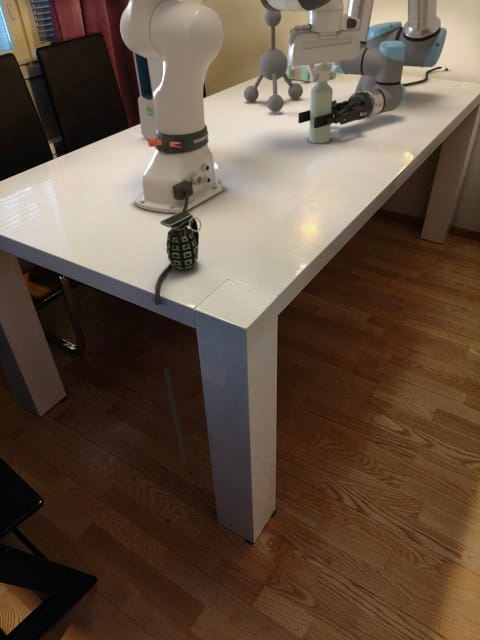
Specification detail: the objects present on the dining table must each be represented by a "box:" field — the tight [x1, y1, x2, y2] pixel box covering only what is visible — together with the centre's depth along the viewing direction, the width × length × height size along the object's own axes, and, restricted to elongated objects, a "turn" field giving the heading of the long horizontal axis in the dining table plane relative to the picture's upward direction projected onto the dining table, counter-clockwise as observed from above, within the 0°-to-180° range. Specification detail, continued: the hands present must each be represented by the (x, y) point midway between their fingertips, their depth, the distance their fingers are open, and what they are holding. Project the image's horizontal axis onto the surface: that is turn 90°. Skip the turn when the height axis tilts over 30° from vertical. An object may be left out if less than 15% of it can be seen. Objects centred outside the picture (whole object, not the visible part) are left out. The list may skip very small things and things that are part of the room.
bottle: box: [308, 81, 334, 144], centre depth 139 cm, size 6×6×18 cm
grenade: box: [159, 211, 202, 271], centre depth 88 cm, size 7×6×10 cm
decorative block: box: [285, 62, 332, 82], centre depth 209 cm, size 26×6×20 cm
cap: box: [315, 71, 331, 82], centre depth 134 cm, size 4×4×2 cm
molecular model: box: [243, 9, 304, 113], centre depth 169 cm, size 24×22×30 cm
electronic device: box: [132, 51, 164, 140], centre depth 143 cm, size 12×8×30 cm, turn 47°
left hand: (322, 80), depth 135 cm, fingers closed on cap, 4 cm apart
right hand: (307, 120), depth 138 cm, fingers closed on bottle, 6 cm apart
